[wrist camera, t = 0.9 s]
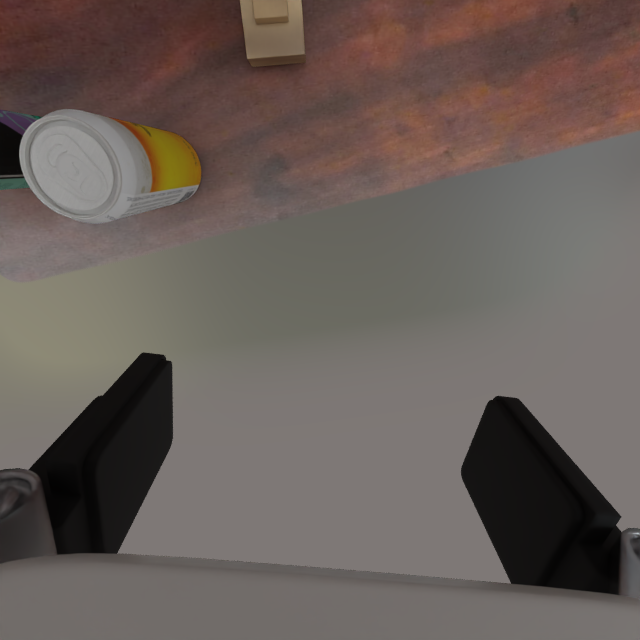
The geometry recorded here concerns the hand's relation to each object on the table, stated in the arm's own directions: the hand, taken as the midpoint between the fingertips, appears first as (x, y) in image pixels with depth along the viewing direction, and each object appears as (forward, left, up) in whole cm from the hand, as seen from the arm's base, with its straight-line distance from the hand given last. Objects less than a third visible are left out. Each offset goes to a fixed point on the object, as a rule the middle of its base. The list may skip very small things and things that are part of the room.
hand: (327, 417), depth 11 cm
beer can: (-7, -13, -28) cm, 32 cm away
